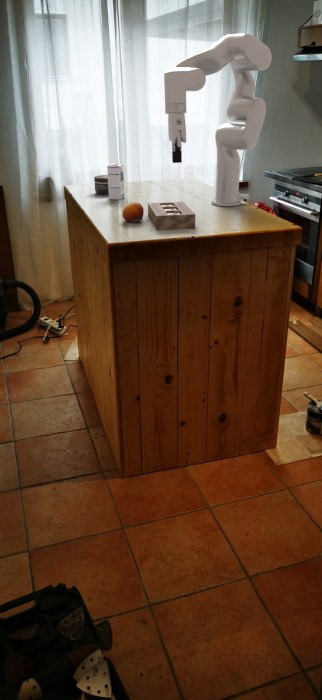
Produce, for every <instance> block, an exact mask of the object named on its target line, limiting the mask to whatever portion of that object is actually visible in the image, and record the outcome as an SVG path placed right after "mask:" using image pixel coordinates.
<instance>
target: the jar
mask: <svg viewBox="0 0 322 700" xmlns="http://www.w3.org/2000/svg"><path fill="white" fill-rule="evenodd" d="M93 180H94V181H93V182H94V191H95V194H96V195H99V196H109V189H108V174H100V175H98V174H97V175H95V176H94V179H93Z"/></svg>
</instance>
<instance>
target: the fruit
mask: <svg viewBox="0 0 322 700" xmlns="http://www.w3.org/2000/svg"><path fill="white" fill-rule="evenodd" d="M144 213H145V210H144V206H143V205H142V204H141V203H140V202H130V203H127V204H126V205H125V206H124V208H123V210H122V218H123V220H125V221H126V223H127V222H128V223H138V221H142V222H144V220H143V217H144Z"/></svg>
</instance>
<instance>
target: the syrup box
mask: <svg viewBox="0 0 322 700" xmlns="http://www.w3.org/2000/svg"><path fill="white" fill-rule="evenodd" d="M106 168H107V169H106V170H107V175H108V189H109V195H108V199H109V200H122V199H123V198H125V176H124V175H125V174H124V164H123V163H118V162H116V163H110V164H108V165H107V166H106Z"/></svg>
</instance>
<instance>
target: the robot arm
mask: <svg viewBox="0 0 322 700" xmlns="http://www.w3.org/2000/svg"><path fill="white" fill-rule="evenodd" d="M272 60H273V59H272V52H271V50H270V48H269V46H268V45H267V44H265V43H264V42H262V41H261V40H259V38H257V37H256V36H254V35H252V34H250V33H232V34H226V35H225V36H222V37H221V38H220V39H219V40H218V41H216V42H215V43H213V44H212V45H210V47H208V48H207V49H205V50H202V51H201V52H199V53H197V54H195V55H192V56H189V57H187V58H185V59H183V60H181V61H180V62H178V63H177V64H176V65H175V66H173V67H172V68H171V69H167V70H165V72H164V75H163V80H164V81H163V82H164V84H163V85H164V106H165V107H164V113H165V114H166V115H167V116H168V117H167V125H168V130H167V131H168V140H169V141H170V142H171V157H172V158H171V159H172V163H173V164H177V163H178V164H179V163H181V164H182V160H183V159H182V157H183V155H182V152H183V151H182V143H184V144H186V143H187V130H186V129H187V127H186V125H187V124H186V117H185V116H186V115H185V114H186V113H187V92H198V91H201V90H202V89H203V88H204V86H205V85H206V81H207V77H206V76H210V75H214V74H216V73H218V72H219V73H220V71H221V70H223V69H224V68H225V67H226V66H228V65H229V64H230V67H231V69H232V73H233V78H234V85H233V88H232V93H231V95H230V98H229V102H228V105H227V110H226V116H227V119H228V120H229V121H230V122H234V123H230V122H229V123H228V122H227V123H223V124H221V125H219V126H218V128H217V129H216V130H215V137H214V138H215V145H216V176H215V177H216V179H215V198H213V199H212V200H211V205H214V206H217V207H237V206H240V205H242V200H244V199H245V200H249V199H250V194H248V193H247V194H245V193H240V191H239V190H240V189H239V187H240V170H241V169H240V168H241V158H240V155H239V152H238V150H239V151H251V150H253V149H255V147H256V145H257V143H258V140H259V138H260V134H261V131H262V127H263V124H264V122H265V119H266V114H267V106H266V102H265V100H264V99H263V98H261V97H258V96H254V94H255V91H256V82H255V78H254V76H253V75H252V72H251V71H253V72H257V71H262V72H263V71H266V70H267V69H268V68H269V67H270V65H271V63H272ZM241 123H242V124H241ZM243 123H245V124H243Z"/></svg>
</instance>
